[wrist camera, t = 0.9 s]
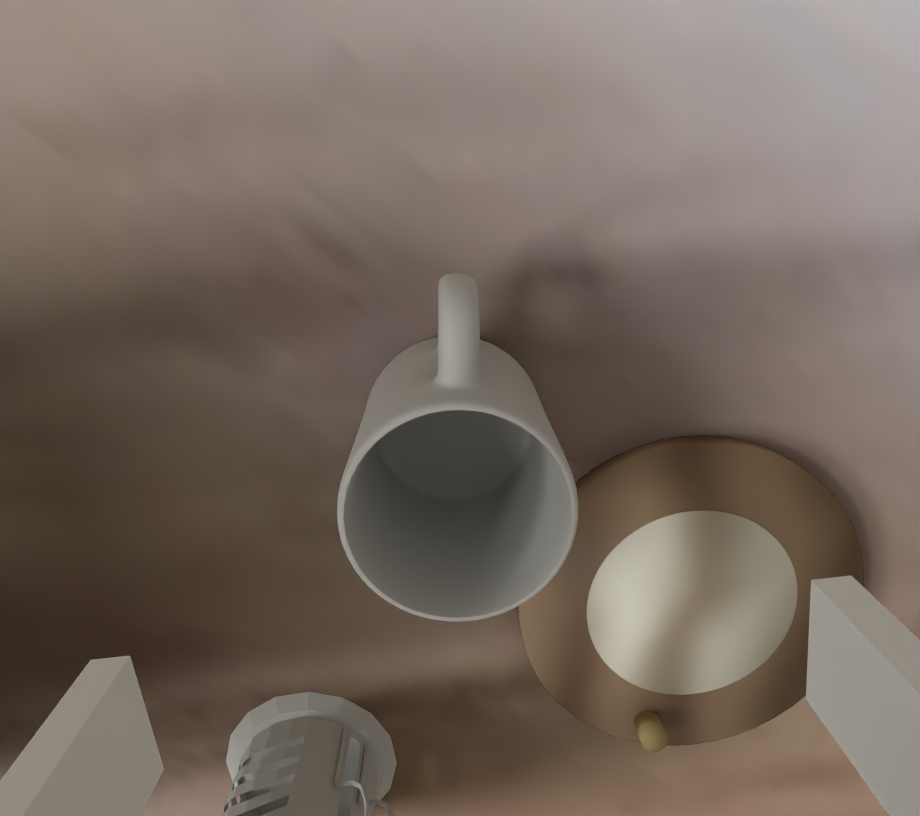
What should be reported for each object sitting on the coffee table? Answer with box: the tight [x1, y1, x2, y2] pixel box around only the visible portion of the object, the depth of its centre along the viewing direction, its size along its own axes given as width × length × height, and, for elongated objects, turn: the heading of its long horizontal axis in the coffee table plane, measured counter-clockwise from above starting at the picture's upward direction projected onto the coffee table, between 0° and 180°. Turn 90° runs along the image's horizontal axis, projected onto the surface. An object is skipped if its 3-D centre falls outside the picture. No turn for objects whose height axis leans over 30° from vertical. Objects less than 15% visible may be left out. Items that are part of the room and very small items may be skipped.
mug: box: [337, 273, 578, 622], centre depth 29 cm, size 12×8×11 cm
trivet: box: [518, 436, 864, 752], centre depth 36 cm, size 18×18×3 cm
